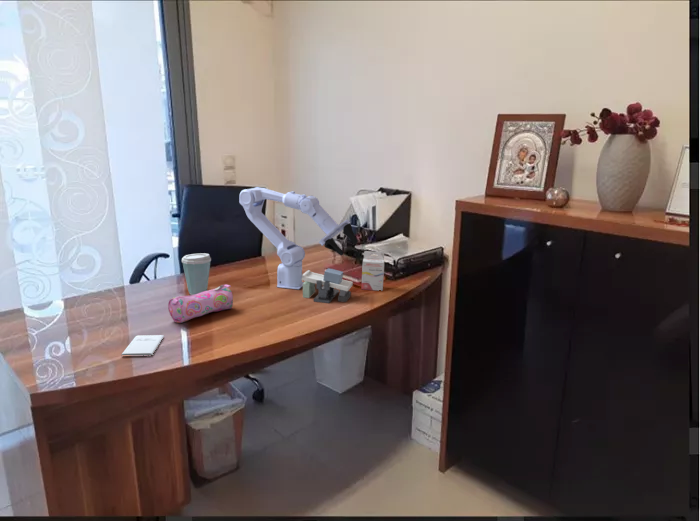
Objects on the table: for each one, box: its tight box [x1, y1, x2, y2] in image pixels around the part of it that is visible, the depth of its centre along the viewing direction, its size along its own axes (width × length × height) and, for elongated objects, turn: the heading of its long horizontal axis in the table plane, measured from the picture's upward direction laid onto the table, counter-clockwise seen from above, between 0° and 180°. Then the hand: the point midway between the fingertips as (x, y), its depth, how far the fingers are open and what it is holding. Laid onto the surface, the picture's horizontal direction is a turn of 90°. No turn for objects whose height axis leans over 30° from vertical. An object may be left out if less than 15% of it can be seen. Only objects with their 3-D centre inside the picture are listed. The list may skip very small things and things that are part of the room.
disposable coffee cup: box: [181, 252, 212, 296], centre depth 187 cm, size 11×11×15 cm
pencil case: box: [167, 284, 234, 324], centre depth 167 cm, size 21×9×9 cm, turn 138°
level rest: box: [302, 281, 316, 299], centre depth 189 cm, size 2×7×6 cm, turn 165°
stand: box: [313, 280, 340, 304], centre depth 187 cm, size 6×13×8 cm, turn 165°
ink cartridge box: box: [361, 250, 385, 292], centre depth 196 cm, size 9×5×15 cm, turn 84°
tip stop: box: [337, 290, 352, 303], centre depth 186 cm, size 3×7×2 cm, turn 165°
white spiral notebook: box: [121, 334, 165, 356], centre depth 143 cm, size 2×8×12 cm
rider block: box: [323, 267, 344, 284], centre depth 185 cm, size 6×4×4 cm
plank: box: [302, 269, 354, 296], centre depth 186 cm, size 18×10×4 cm, turn 76°
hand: (349, 248), depth 185 cm, fingers open, 7 cm apart
